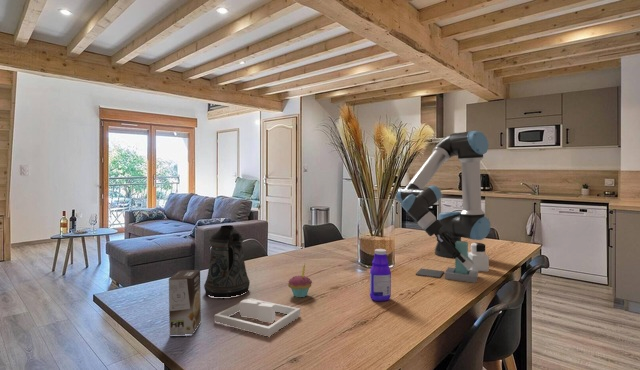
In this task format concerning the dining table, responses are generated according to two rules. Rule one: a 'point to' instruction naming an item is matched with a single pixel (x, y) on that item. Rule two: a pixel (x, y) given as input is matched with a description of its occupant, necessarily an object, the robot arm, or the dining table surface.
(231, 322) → the holder frame
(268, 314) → the napkin holder
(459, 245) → the plug
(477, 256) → the medicine bottle
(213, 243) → the beer stein
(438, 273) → the mat
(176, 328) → the coffee box
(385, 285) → the bottle
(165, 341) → the dining table surface
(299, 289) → the cupcake
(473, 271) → the socket block
